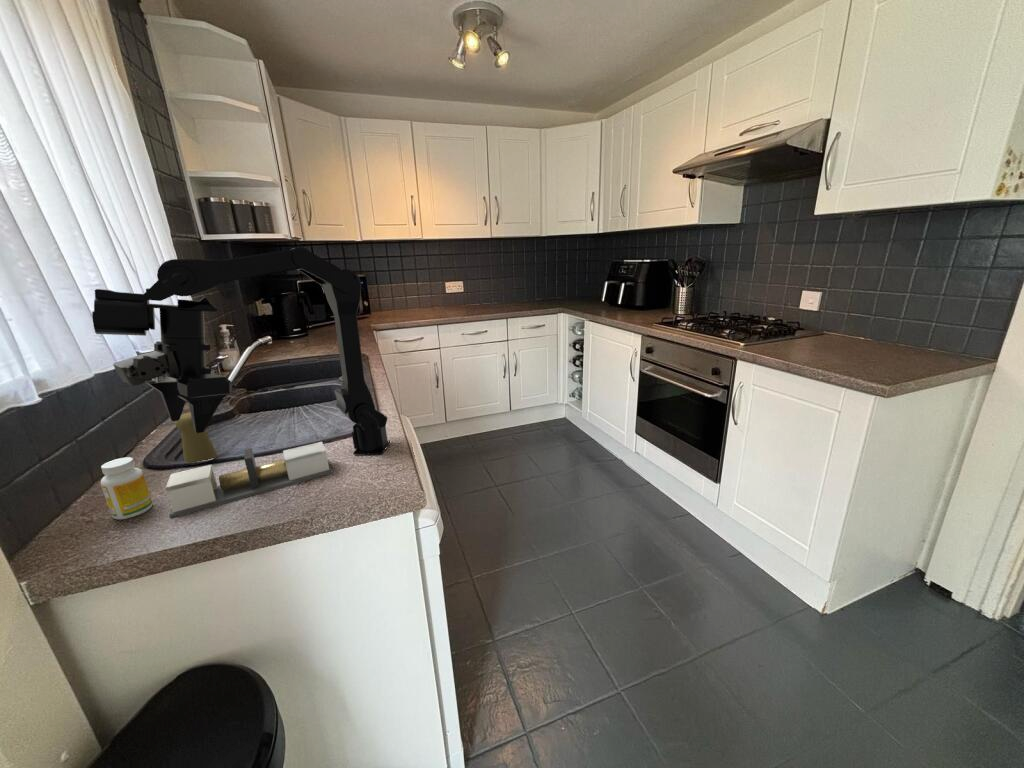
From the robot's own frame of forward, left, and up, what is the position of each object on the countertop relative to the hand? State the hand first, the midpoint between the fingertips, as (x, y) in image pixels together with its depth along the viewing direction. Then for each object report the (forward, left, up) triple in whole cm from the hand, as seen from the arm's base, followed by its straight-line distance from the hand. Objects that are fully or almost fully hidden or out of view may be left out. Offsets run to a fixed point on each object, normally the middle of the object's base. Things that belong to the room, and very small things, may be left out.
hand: (187, 426), depth 70 cm
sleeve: (-14, -10, -14) cm, 22 cm away
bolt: (-9, -6, -14) cm, 17 cm away
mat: (-7, -5, -14) cm, 16 cm away
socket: (+1, +1, -14) cm, 14 cm away
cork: (+15, -16, -15) cm, 26 cm away
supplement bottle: (+11, +4, -15) cm, 19 cm away
